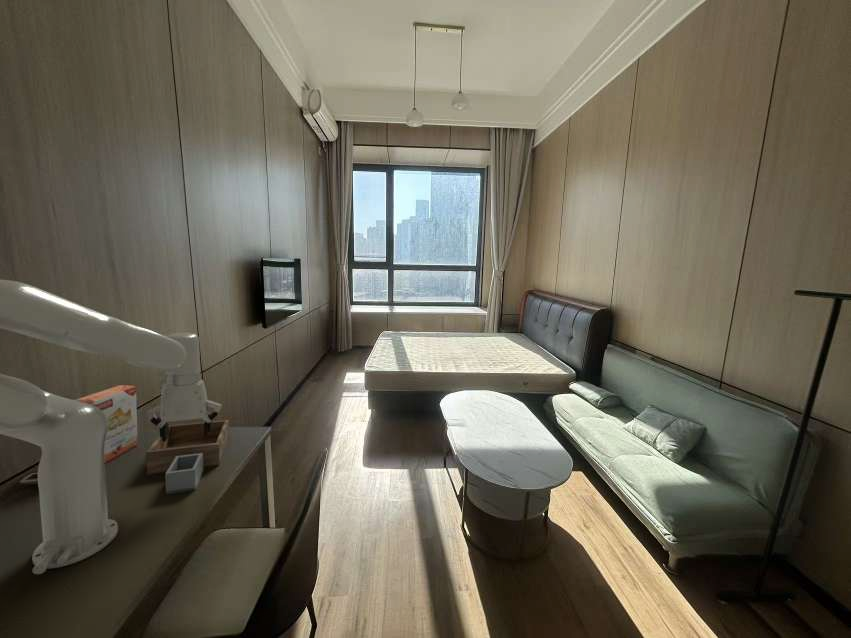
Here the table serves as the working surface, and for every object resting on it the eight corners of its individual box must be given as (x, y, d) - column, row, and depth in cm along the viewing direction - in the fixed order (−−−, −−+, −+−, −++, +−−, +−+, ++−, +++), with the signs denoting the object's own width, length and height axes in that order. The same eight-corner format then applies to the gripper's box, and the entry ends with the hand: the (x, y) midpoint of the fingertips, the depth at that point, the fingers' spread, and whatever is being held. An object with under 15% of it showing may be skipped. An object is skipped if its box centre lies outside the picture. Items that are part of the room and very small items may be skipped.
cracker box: (97, 469, 96) (93, 400, 94) (77, 467, 96) (72, 399, 94) (139, 445, 110) (137, 385, 108) (121, 444, 110) (119, 384, 108)
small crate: (195, 490, 90) (195, 469, 89) (166, 494, 88) (165, 473, 87) (203, 471, 98) (203, 452, 98) (176, 475, 96) (176, 456, 95)
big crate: (219, 465, 102) (219, 444, 101) (147, 475, 95) (146, 452, 94) (228, 438, 119) (228, 419, 118) (168, 445, 112) (167, 425, 111)
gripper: (138, 385, 83) (142, 448, 85) (218, 380, 89) (220, 438, 92) (149, 376, 90) (153, 434, 92) (223, 371, 96) (224, 426, 99)
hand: (186, 436), depth 92 cm, fingers open, 9 cm apart
